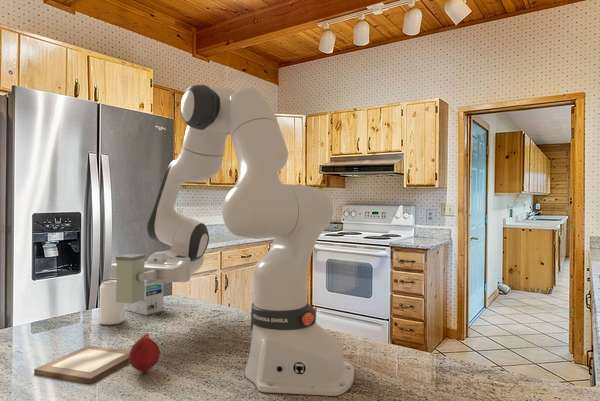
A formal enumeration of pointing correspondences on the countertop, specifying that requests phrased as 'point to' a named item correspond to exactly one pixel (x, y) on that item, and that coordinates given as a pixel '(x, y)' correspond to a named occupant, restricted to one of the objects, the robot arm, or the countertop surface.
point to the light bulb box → (148, 300)
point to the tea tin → (129, 278)
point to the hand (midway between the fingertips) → (128, 276)
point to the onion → (144, 354)
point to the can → (110, 304)
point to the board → (85, 364)
